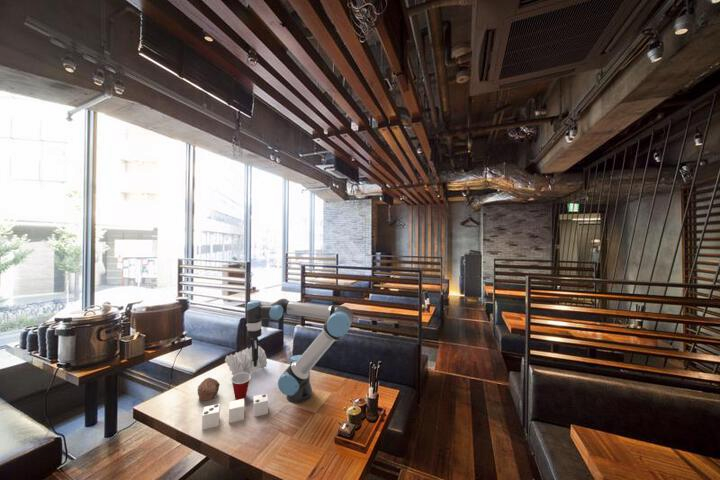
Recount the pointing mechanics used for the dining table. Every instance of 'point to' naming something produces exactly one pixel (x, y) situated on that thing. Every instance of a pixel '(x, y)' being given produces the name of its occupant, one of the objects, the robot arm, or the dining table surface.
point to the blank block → (236, 410)
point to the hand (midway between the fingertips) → (255, 371)
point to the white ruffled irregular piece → (245, 361)
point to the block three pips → (210, 416)
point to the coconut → (208, 389)
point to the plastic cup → (240, 385)
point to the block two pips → (260, 405)
